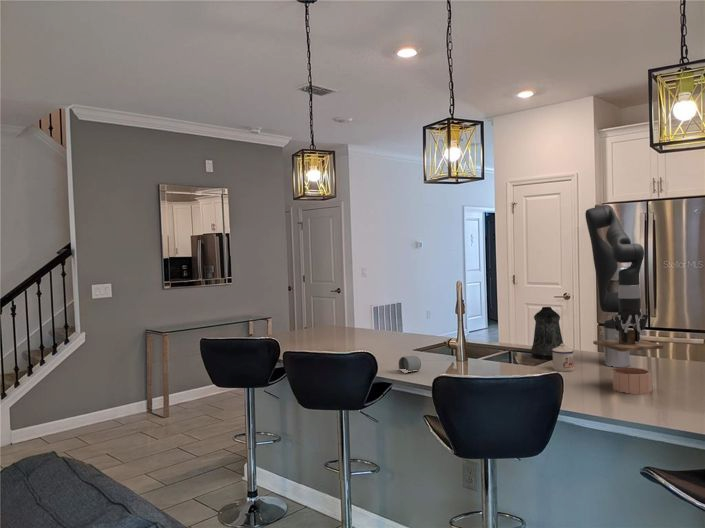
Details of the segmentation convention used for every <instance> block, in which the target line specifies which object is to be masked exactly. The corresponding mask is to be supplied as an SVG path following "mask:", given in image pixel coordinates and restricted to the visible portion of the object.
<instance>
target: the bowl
mask: <svg viewBox="0 0 705 528" xmlns="http://www.w3.org/2000/svg"><path fill="white" fill-rule="evenodd" d="M611 373H612V389H613V390H614V391H616V390H617V392H618V393H623V392H625V393H626V394H629V393H630V394H632V395H634V394H635V395H645V394H651V393H653V372H652V371H651V370H650V369H647V368H640V367H632V366H631V367H630V366H626V367H614V368H613V369H612V372H611Z"/></svg>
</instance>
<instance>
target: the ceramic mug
mask: <svg viewBox="0 0 705 528" xmlns="http://www.w3.org/2000/svg"><path fill="white" fill-rule="evenodd" d="M421 367H422V361H421V359H420V358H419V356H416V355H411V356H410V355H409V356H407V355H404V356H402V357H400V358H399V360H398V370H399V369H406V370H408V371H413V370H418V371H419V370H420V369H421Z"/></svg>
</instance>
